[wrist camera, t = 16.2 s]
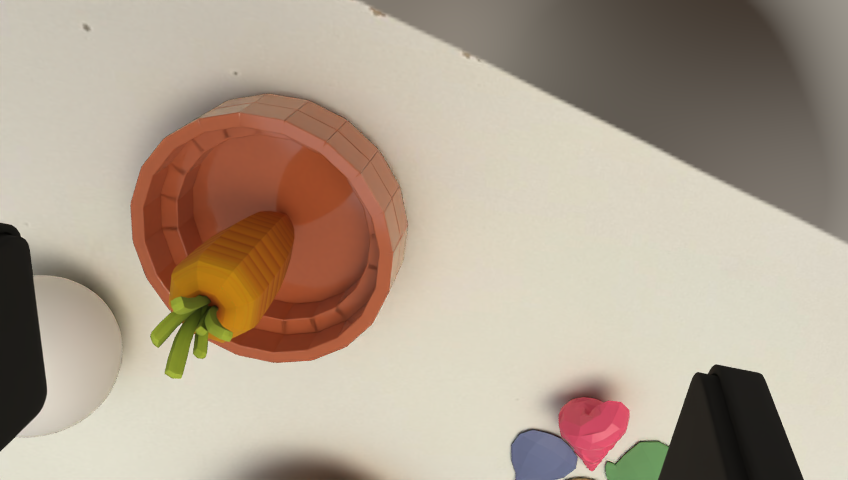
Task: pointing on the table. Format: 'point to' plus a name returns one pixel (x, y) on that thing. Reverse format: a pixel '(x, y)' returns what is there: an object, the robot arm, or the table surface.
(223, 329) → the carrot
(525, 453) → the toy pieces
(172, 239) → the terracotta bowl
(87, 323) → the ornament
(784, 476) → the robot arm
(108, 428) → the table surface
